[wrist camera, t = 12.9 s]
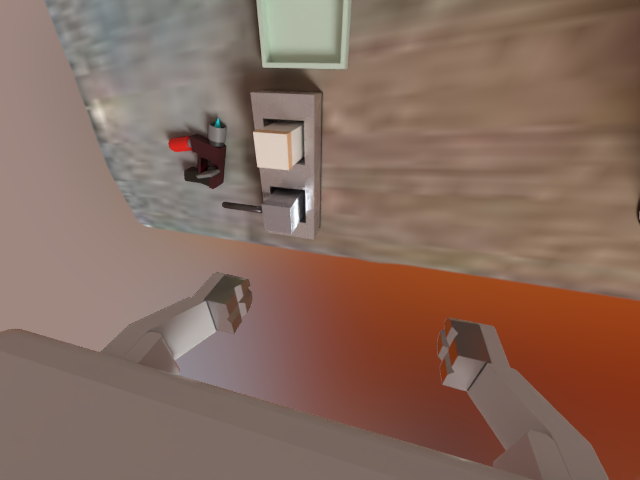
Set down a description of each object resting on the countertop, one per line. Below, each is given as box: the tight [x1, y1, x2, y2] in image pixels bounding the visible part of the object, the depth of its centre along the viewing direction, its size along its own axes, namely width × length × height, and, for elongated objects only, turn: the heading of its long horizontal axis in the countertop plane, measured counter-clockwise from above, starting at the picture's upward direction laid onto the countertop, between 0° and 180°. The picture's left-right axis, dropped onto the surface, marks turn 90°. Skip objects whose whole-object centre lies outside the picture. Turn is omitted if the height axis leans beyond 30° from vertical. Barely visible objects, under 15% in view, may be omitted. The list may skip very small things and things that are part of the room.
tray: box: [256, 0, 352, 69], centre depth 28 cm, size 10×9×2 cm
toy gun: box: [169, 119, 226, 189], centre depth 39 cm, size 10×12×5 cm
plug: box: [253, 120, 305, 170], centre depth 33 cm, size 4×4×8 cm
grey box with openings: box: [222, 90, 323, 239], centre depth 36 cm, size 14×20×8 cm
